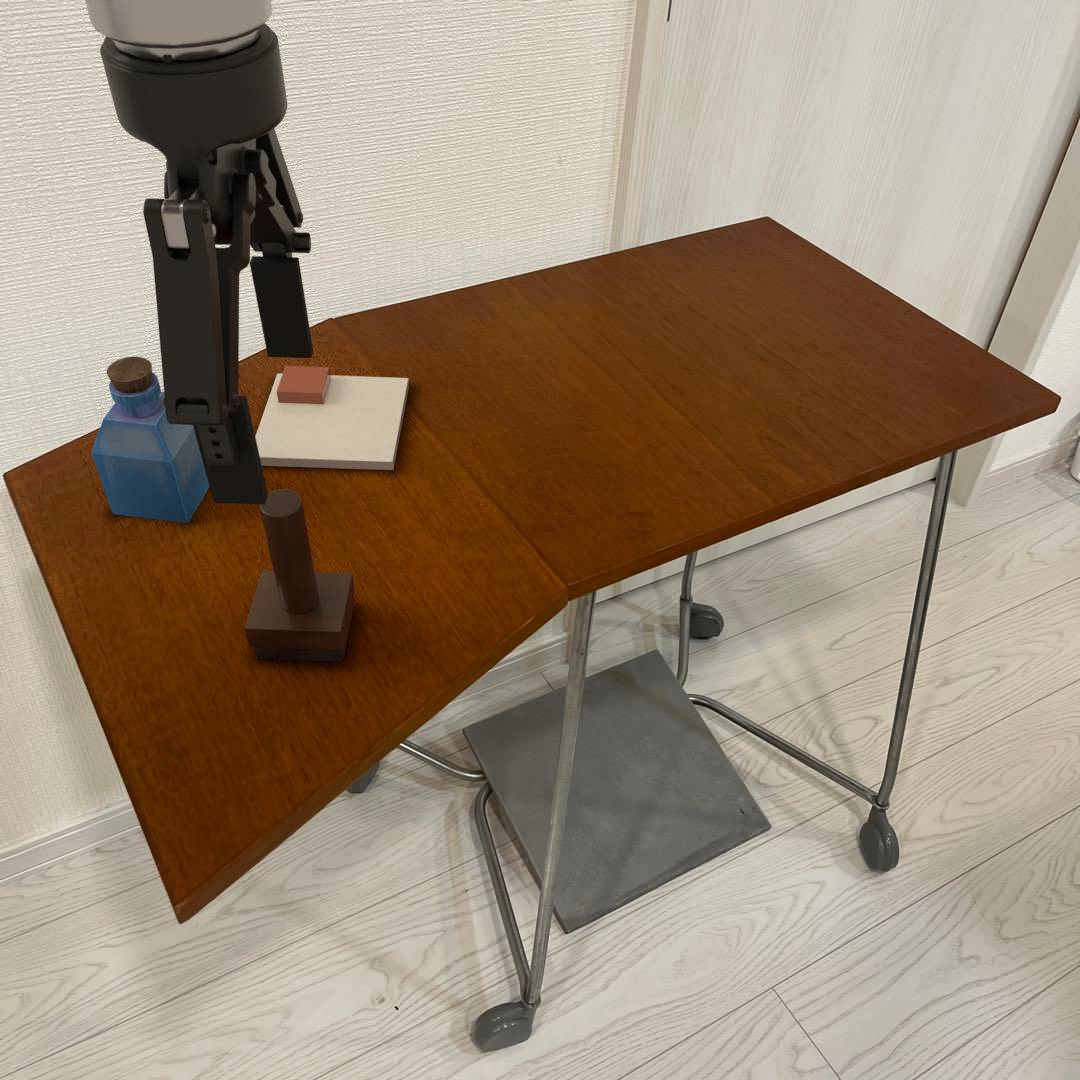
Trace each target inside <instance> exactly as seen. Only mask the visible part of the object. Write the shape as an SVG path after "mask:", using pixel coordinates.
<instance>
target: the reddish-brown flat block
mask: <svg viewBox="0 0 1080 1080" xmlns="http://www.w3.org/2000/svg"><path fill="white" fill-rule="evenodd" d="M331 375H332V374H331V370H330V367H329V366H307V365H306V366H305V365H303V366H301V365H285V366H284V368H283V372H282V377H281V380H280V383H279V386H278V389H277V398H278V402H279V403H307V404H324V400H325V397H326V393H327V390H328V386H329V383H330V379H331Z"/></svg>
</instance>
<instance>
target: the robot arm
mask: <svg viewBox="0 0 1080 1080" xmlns="http://www.w3.org/2000/svg"><path fill="white" fill-rule="evenodd" d="M84 2H85V6H86V10H87V14H88V18H89V21H90V23H91V26H92V27H93V28H94V30H95V31H97V32H98V33H100V34H101V35H103V37H105V38H104V39H103V43H102V44H101V46H100V48H99V53H100V57H101V61H102V64H103V68H104V73H105V75H106V79H107V83H108V87H109V91H110V94H111V99H112V102H113V107H114V110H115V114H116V117H117V120H118V122H119V125H120V126H121V128H123V130H124V131H125V132H126V133H127V134H128V135H130V136H131V137H133V138H134V139H136V140H138V141H140V142H144V143H146V144H148V145H150V146H152V147H153V148H155V149H156V150H158V151H159V152H160V153H161V154H162V155H163V156H164V158H165V159H166V161H165V168H166V171H165V172H164V177H163V198H154V197H153V198H150V197H149V198H145V200H144V202H143V210H142V213H143V218H144V224H145V227H146V228H145V229H146V232H147V237H148V243H149V245H150V251H151V255H152V265H153V279H154V288H155V289H154V290H155V298H156V299H155V300H156V309H157V310H156V312H157V313H156V314H157V323H158V335H159V348H160V357H161V358H160V359H161V371H162V381H163V382H162V383H163V392H164V396H165V398H164V405H165V408H166V410H165V412H166V416H167V421H168V422H169V424H182V425H193V428H194V431H195V435H196V439H197V442H198V446H199V450H200V453H201V457H202V461H203V464H204V468H205V472H206V475H207V479H208V483H209V486H210V487H209V490H210V493H211V497H212V501H213V503H214V504H224V505H225V504H226V505H227V504H228V505H229V504H230V505H258V506H259V505H265V504H266V501H267V497H268V493H269V492H268V487H267V483H266V478H265V475H264V469H263V466H262V465H261V460H260V456H259V451H258V447H257V442H256V438H255V436H256V433H255V429H254V426H253V425H254V424H253V419H252V415H251V411H250V405H249V402H248V396H247V395H239V377H240V376H239V375H240V374H239V373H240V372H239V368H240V367H239V366H240V365H239V362H240V360H239V359H240V274H241V271H243V270H244V269H247V268H248V266H249V267H250V273H251V277H252V282H253V287H254V292H255V298H256V303H257V308H258V314H259V318H260V323H261V329H262V335H263V340H264V345H265V349H266V354H267V358H292V359H312V357H313V354H314V347H313V341H312V334H311V329H310V321H309V315H308V309H307V308H308V307H307V301H306V296H305V289H304V284H303V276H302V271H301V265H300V259H299V258H300V257H297V256H296V257H295V256H293V254H310V253H311V250H312V238H311V237H312V236H311V233H310V232H301V231H297V230H296V229H301V228H302V226H303V222H304V213H303V212H302V208H301V205H300V202H299V198H298V196H297V193H296V190H295V186H294V183H293V181H292V178H291V174H290V171H289V168H288V165H287V162H286V159H285V156H284V153H283V150H282V147H281V144H280V141H279V138H278V135H277V132H276V128H277V127H278V126H279V125H280V124H281V122H282V121H283V120H284V118H285V116H286V115H287V110H288V97H287V90H286V83H285V77H284V70H283V63H282V57H281V56H282V55H281V50H280V49H281V48H280V43H279V38H278V35H277V33H276V32H275V31H274V30H273V29H272V28H271V27H270V26H269V25H268V24H267V22H268V21H269V19H270V18H271V17H272V14H273V5H272V0H84ZM216 246H227V247H216ZM251 248H252V250H253V251H254V252H257V253H261V254H262V256H258V255H252V256H251Z"/></svg>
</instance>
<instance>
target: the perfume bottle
mask: <svg viewBox="0 0 1080 1080" xmlns="http://www.w3.org/2000/svg"><path fill="white" fill-rule="evenodd" d="M106 376H107V377H108V379H109V380H110V381H109V384H108V390H109V393H110V396H111V399H112V401H113V402H114V404H113V405H112V406H111V408H110V409H109V410H108V412H107V413H106V414H105V416H104V417H103V419H102V421H101V424H100V426H99V430H98V433H97V435H96V438H95V442H94V444H93V446H92V450H91V456H92V459H93V462H94V465H95V467H96V470H97V474H98V475H99V478H100V481H101V484H102V487H103V491H104V493H105V495H106V498H107V501H108V504H109V507H110V509H111V512H112V515H120V516H125V517H127V516H128V517H133V518H134V517H135V518H143V519H151V520H159V521H167V522H177V523H184V524H189V523H190V522H191V520H192V518H193V517H194V514H195V513H196V511H197V510H198V508H199V506H200V505H201V503H202V501H203V499H204V497H205V496H206V494H207V491H208V490H210V486H209V483H208V479H207V475H206V472H205V468H204V464H203V461H202V457H201V453H200V450H199V446H198V442H197V439H196V435H195V431H194V428H193V425H182V424H169V422H168V421H167V416H166V412H165V410H166V408H165V405H164V398H165V396H164V391H161V384H160V381H159V378H158V376H157V374H156V373H155V372H153V364H152V362H151V361H150V360H149V359H147V358H146V357H142V356H126V357H123V358H119V359H117V360H115V361H113V362H111V364H110V365H108V367H107V368H106Z"/></svg>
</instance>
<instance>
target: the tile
mask: <svg viewBox="0 0 1080 1080" xmlns="http://www.w3.org/2000/svg"><path fill="white" fill-rule="evenodd" d="M282 374H283V372H281V373H280V372H279V373H277V374H276V376H275V379H274V382H273V385H272V388H271V391H270V393H269V396H268V399H267V402H266V405H265V407H264V411H263V413H262V417H261V419H260V422H259V425H258V428H257V430H256V433H255V438H256V442H257V447H258V451H259V456H260V460H261V465H262V467H283V468H285V467H287V468H314V469H315V468H317V469H338V470H339V469H340V470H341V469H342V470H372V471H394V469H395V464H396V459H397V453H398V448H399V442H400V438H401V432H402V427H403V421H404V417H405V416H404V415H405V410H406V405H407V400H408V394H409V389H410V381H409V379H410V378H408V377H391V376H390V377H389V376H386V377H385V376H363V375H360V376H359V375H339V374H337V375H335V374H333V375H332V374H330V375H331V379H330V383H329V386H328V390H327V393H326V397H325V400H324V404H307V403H279V402H278V398H277V389H278V386H279V383H280V380H281V377H282Z"/></svg>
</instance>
